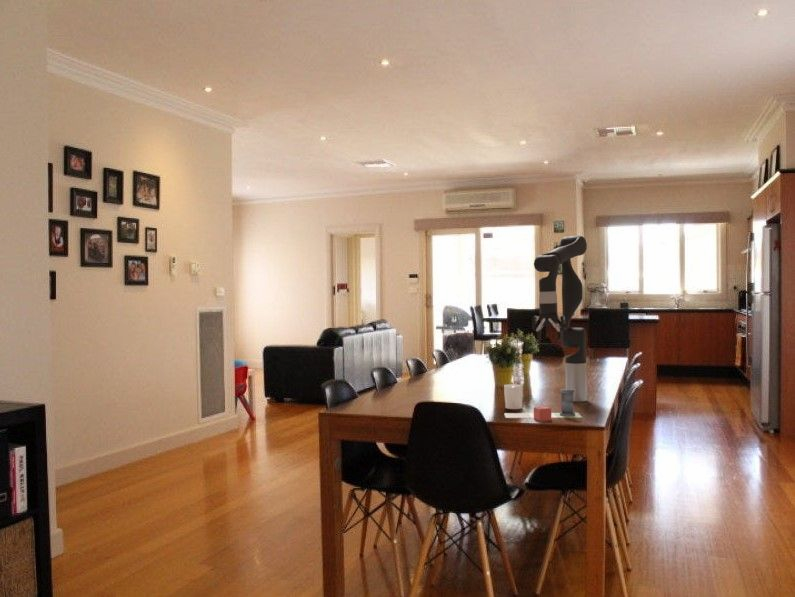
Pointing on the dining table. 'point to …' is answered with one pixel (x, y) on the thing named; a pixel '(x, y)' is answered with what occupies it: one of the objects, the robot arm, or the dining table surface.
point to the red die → (542, 413)
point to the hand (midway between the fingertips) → (549, 340)
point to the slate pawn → (567, 402)
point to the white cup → (513, 396)
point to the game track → (531, 415)
